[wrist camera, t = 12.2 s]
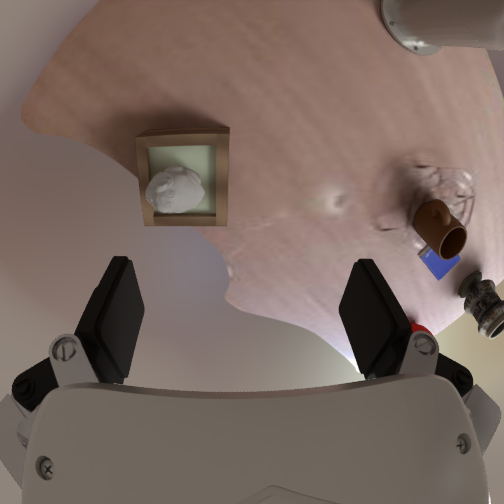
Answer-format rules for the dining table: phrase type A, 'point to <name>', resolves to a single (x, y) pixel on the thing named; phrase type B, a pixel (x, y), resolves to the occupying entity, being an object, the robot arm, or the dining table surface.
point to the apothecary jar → (483, 304)
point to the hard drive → (437, 262)
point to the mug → (440, 229)
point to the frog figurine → (175, 190)
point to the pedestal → (195, 158)
